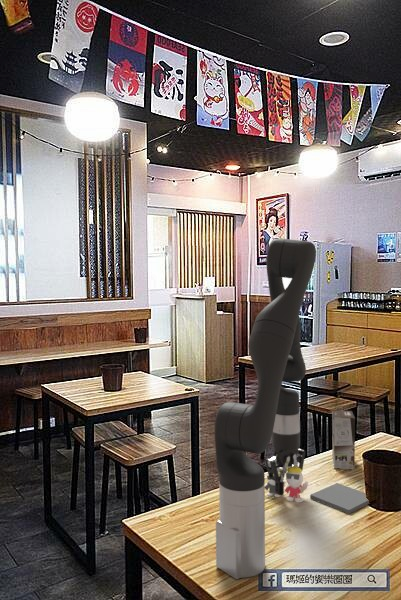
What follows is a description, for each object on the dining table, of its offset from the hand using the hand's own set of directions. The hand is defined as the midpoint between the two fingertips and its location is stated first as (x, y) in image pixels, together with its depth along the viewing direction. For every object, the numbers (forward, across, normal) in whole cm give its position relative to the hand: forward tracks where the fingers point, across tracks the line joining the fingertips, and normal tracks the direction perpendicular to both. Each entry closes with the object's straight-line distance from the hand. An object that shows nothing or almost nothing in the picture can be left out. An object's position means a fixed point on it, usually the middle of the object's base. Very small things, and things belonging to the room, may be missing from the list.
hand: (286, 491), depth 137 cm
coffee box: (+2, +32, +4) cm, 32 cm away
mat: (+1, +10, -11) cm, 15 cm away
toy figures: (+2, 0, 0) cm, 2 cm away
